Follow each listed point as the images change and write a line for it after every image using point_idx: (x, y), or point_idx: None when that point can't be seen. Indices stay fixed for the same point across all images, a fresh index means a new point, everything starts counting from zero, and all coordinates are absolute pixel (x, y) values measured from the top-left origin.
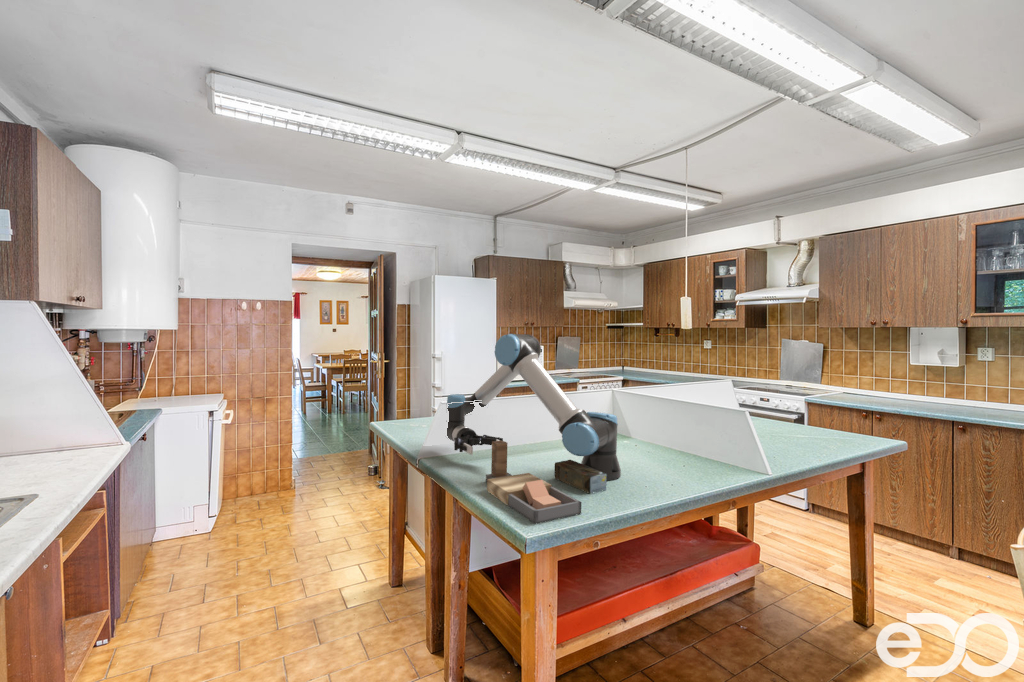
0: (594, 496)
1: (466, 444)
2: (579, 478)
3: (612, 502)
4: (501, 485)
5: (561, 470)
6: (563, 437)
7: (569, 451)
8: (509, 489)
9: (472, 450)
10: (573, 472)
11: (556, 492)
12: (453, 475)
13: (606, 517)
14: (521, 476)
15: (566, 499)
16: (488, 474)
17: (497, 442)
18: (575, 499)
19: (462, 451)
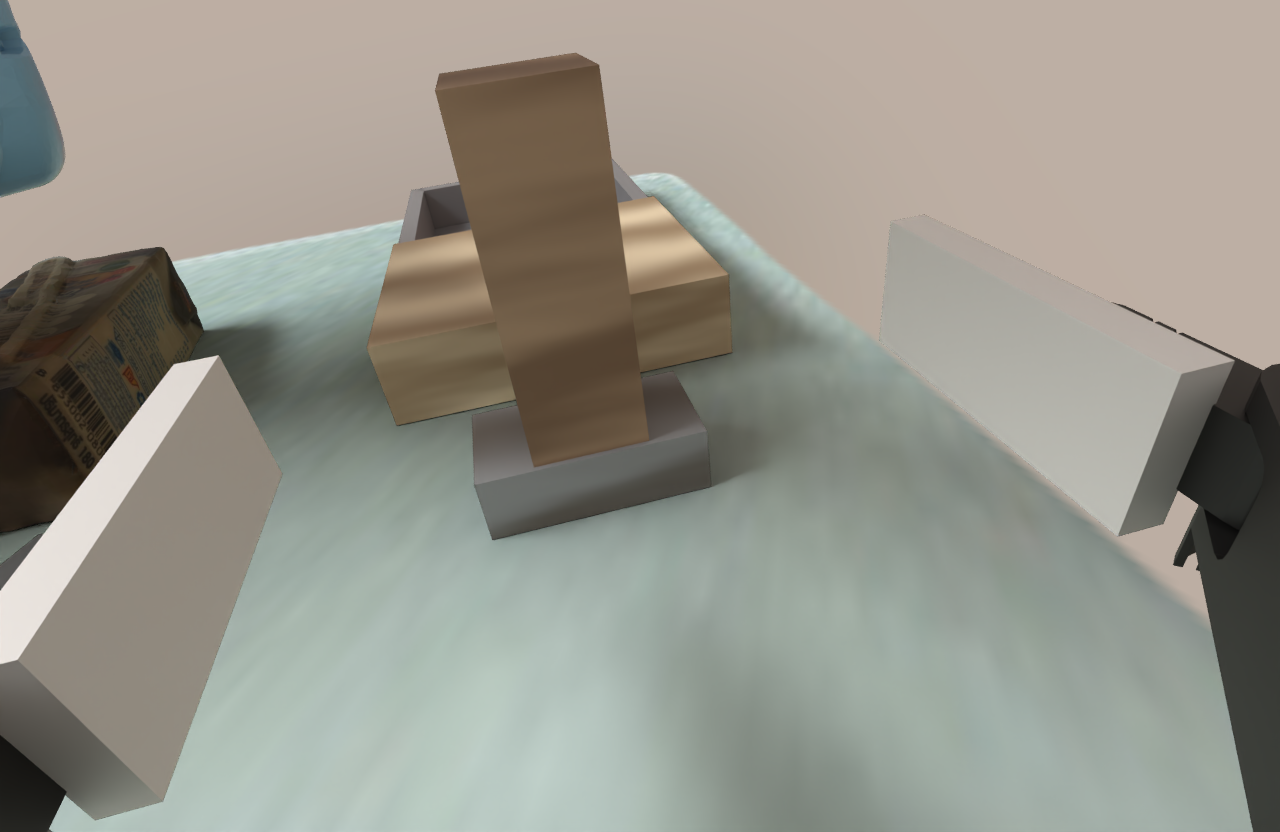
0: (222, 313)
1: (1078, 296)
2: (154, 306)
3: (225, 282)
4: (661, 230)
5: (93, 375)
6: (15, 22)
7: (63, 150)
8: (635, 210)
9: (888, 278)
10: (126, 303)
11: (418, 237)
12: (1160, 709)
13: (369, 226)
14: (469, 305)
15: (424, 221)
16: (680, 433)
17: (546, 63)
18: (413, 197)
19: (1179, 547)
